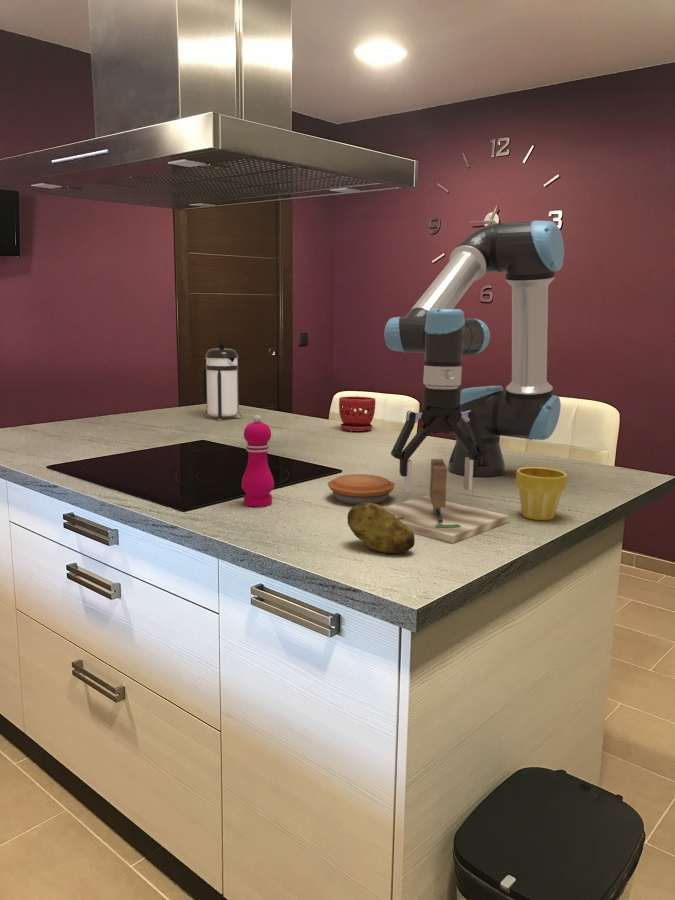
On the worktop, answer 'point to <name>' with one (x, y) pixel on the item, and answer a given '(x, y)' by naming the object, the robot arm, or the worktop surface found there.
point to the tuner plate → (445, 519)
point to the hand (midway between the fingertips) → (437, 490)
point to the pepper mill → (257, 465)
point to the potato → (380, 529)
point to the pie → (361, 488)
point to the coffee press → (221, 382)
